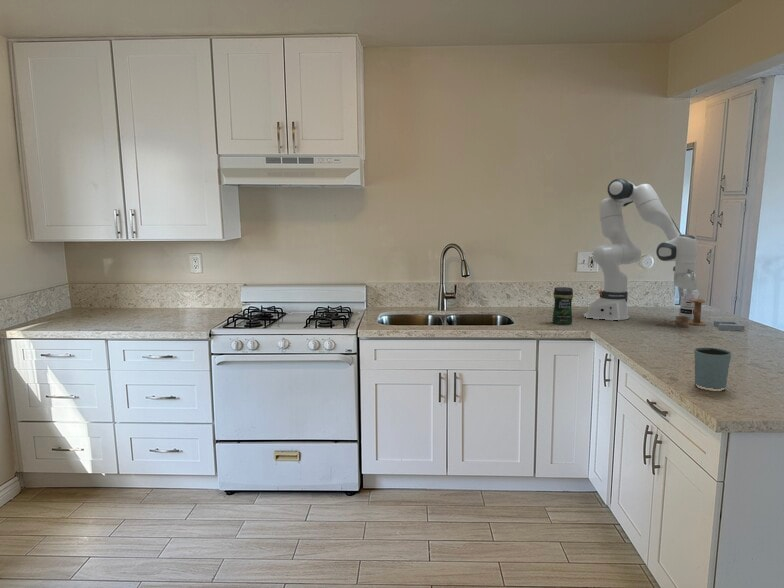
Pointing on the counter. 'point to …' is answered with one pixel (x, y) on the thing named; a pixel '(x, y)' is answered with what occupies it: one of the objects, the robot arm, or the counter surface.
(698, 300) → the bobbin
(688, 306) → the supplement can
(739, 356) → the counter surface
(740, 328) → the notch board
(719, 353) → the teal cup
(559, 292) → the coffee jar
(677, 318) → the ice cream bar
